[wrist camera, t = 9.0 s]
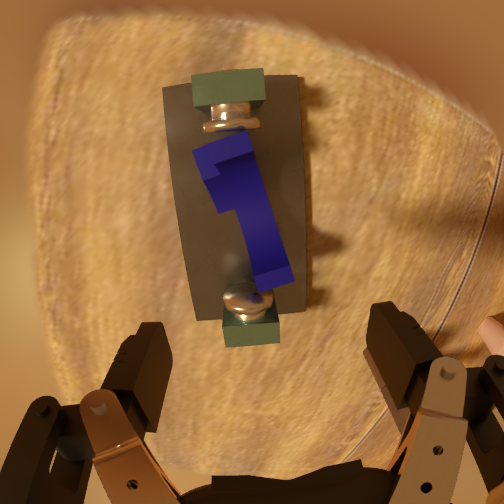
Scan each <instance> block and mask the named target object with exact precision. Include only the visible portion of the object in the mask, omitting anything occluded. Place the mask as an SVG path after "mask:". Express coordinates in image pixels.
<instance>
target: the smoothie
mask: <svg viewBox="0 0 504 504" xmlns="http://www.w3.org/2000/svg"><path fill="white" fill-rule="evenodd" d="M478 334H479V335H480V337H481V338H482V340H483V341H484V343H485V344H486V346H487V347H488V349H489V350H490V352H491V353H492V355H502V356H504V325H502V324H501V323H499V322H498V321H497V320H495V319H494V318H492V317H487V318H486V319H485V320H484V321H483V322H482V323H481V325H480V326H479V329H478Z"/></svg>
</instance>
